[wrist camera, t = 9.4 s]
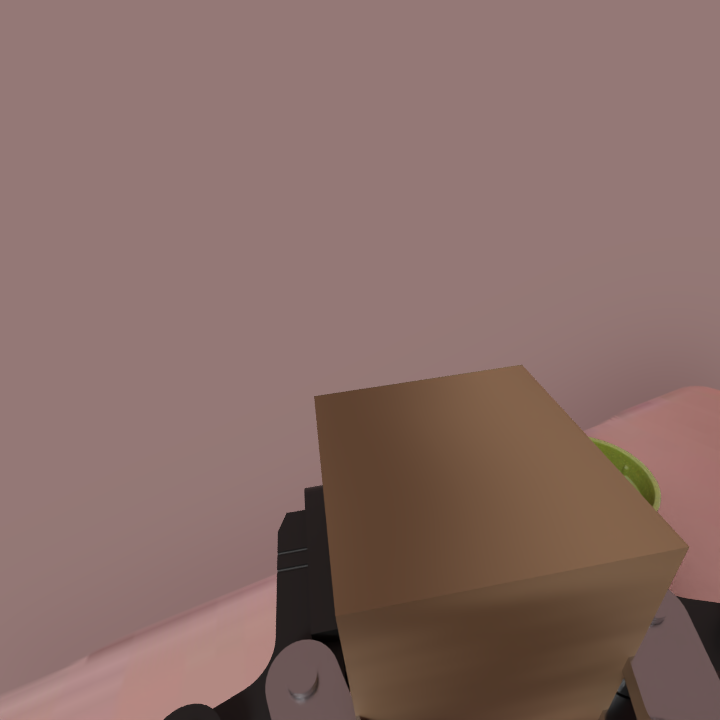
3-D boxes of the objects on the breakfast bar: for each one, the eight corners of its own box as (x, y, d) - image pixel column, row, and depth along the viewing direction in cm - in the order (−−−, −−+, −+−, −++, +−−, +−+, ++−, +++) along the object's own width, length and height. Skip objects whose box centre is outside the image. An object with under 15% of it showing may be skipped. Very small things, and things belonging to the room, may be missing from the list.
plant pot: (659, 570, 35) (693, 498, 31) (568, 619, 32) (591, 548, 28) (571, 490, 43) (588, 422, 38) (491, 524, 40) (499, 456, 36)
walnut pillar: (488, 617, 14) (522, 365, 9) (561, 802, 11) (689, 547, 5) (355, 644, 14) (314, 396, 9) (381, 846, 10) (335, 615, 5)
